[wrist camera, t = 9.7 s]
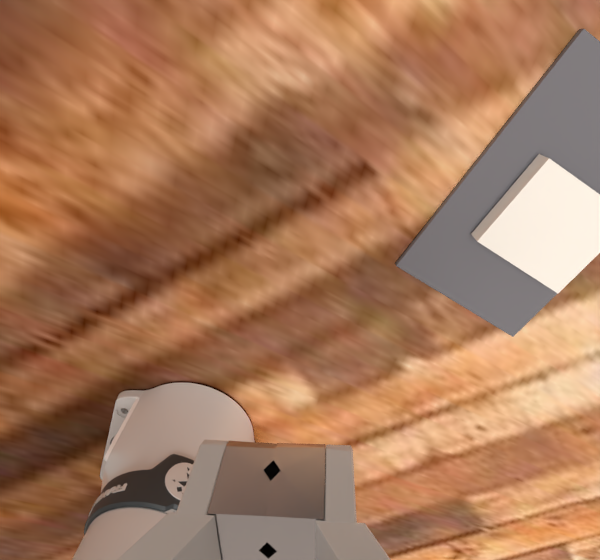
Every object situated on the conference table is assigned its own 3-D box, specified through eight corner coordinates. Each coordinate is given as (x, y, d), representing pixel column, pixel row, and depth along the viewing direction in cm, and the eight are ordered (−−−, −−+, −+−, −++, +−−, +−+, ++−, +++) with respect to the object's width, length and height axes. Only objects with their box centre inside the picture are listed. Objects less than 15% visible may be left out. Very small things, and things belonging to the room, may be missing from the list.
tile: (470, 233, 38) (547, 283, 40) (477, 241, 36) (557, 293, 38) (537, 153, 35) (618, 211, 36) (549, 158, 33) (634, 219, 34)
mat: (510, 333, 43) (513, 336, 42) (395, 263, 40) (396, 265, 40) (711, 135, 34) (717, 136, 33) (579, 29, 31) (583, 28, 31)
